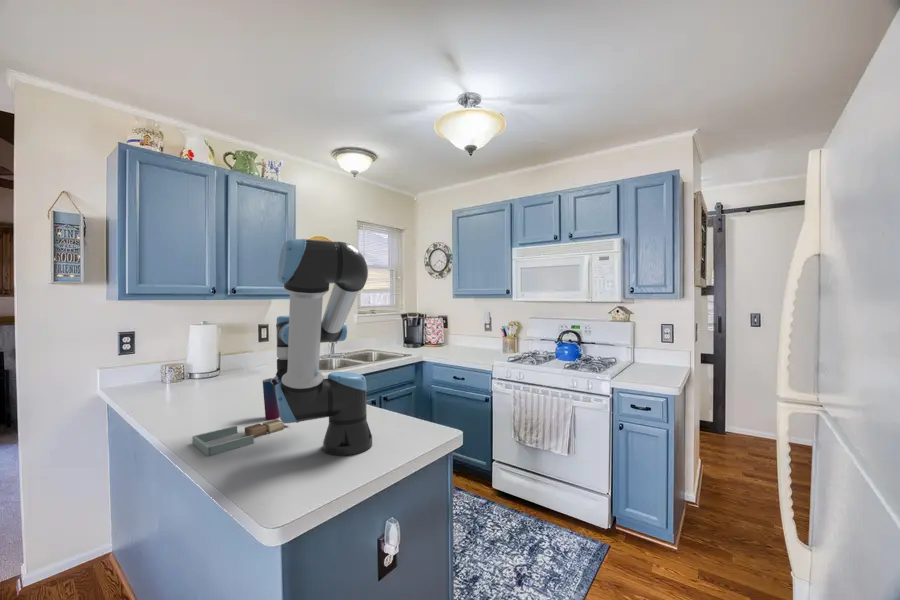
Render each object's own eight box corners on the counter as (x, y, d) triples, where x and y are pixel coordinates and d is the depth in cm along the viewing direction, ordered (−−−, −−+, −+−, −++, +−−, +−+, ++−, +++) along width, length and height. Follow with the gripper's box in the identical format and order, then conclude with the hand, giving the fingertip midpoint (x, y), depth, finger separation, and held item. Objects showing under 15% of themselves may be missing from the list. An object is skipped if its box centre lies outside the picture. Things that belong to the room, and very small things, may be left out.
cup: (274, 421, 146) (274, 382, 146) (258, 420, 147) (258, 381, 147) (285, 415, 153) (285, 378, 152) (270, 414, 154) (270, 377, 154)
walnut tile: (266, 434, 132) (266, 426, 132) (252, 439, 128) (252, 430, 128) (258, 431, 135) (258, 423, 135) (244, 436, 131) (244, 427, 131)
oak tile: (283, 430, 137) (283, 421, 137) (270, 434, 133) (269, 425, 133) (276, 427, 140) (276, 419, 140) (262, 431, 136) (262, 422, 136)
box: (253, 443, 124) (253, 435, 124) (207, 456, 114) (207, 447, 114) (236, 432, 134) (236, 425, 134) (192, 443, 124) (192, 436, 124)
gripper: (299, 354, 148) (300, 415, 148) (265, 358, 138) (266, 423, 138) (309, 356, 143) (310, 419, 143) (274, 361, 133) (275, 428, 133)
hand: (288, 421), depth 141 cm, fingers closed
